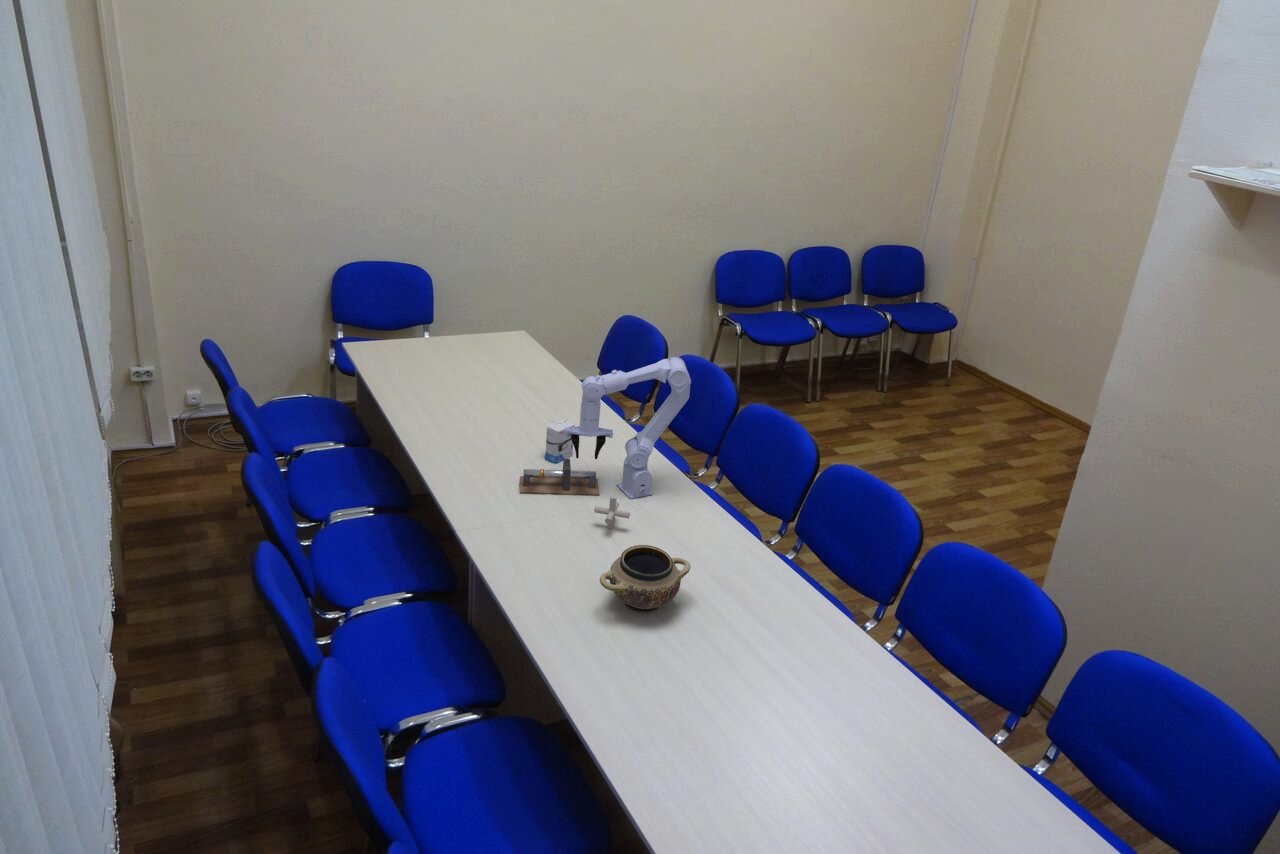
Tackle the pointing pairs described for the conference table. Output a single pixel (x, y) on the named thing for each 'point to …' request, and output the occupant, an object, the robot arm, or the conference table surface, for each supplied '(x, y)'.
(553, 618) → the conference table surface
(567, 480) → the rubber collar
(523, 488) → the walnut board
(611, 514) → the pipe connector
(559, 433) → the ink box
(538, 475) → the steel pipe
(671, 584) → the ceramic bowl
